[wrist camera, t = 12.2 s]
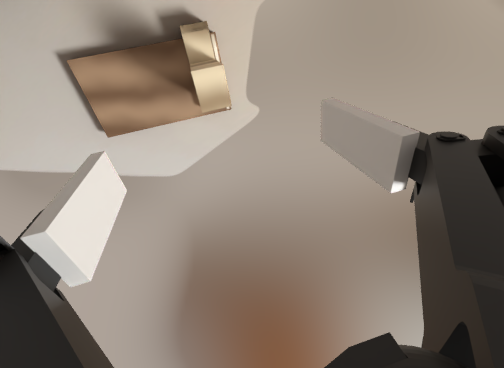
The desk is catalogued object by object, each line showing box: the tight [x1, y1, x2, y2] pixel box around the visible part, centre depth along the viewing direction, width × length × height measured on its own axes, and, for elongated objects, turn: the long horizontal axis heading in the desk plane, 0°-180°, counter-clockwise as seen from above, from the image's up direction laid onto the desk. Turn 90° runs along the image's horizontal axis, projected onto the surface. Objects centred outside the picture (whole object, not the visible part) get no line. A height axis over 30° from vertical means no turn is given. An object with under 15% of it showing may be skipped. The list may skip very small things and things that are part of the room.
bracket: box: [180, 21, 232, 113], centre depth 34 cm, size 12×4×13 cm, turn 9°
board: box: [67, 32, 231, 137], centre depth 39 cm, size 12×22×2 cm, turn 99°
